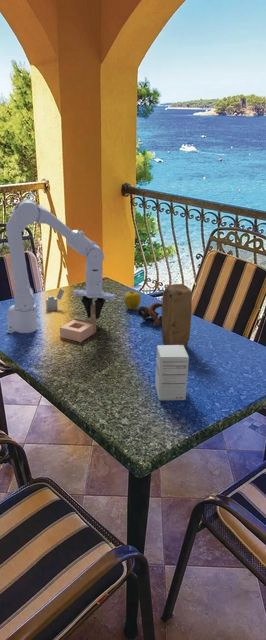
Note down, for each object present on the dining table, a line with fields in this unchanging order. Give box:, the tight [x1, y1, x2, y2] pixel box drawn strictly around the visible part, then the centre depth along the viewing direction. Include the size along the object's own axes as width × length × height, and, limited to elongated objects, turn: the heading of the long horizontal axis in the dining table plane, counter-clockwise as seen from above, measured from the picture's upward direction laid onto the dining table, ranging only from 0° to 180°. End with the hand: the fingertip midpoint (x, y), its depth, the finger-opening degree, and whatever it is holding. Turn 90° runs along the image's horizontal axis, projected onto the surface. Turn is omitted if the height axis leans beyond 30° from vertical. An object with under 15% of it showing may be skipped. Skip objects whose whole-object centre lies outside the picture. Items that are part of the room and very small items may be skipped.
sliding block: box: [59, 319, 95, 343], centre depth 152 cm, size 8×8×4 cm
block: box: [161, 283, 193, 348], centre depth 148 cm, size 11×8×20 cm
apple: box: [123, 289, 141, 311], centre depth 180 cm, size 6×6×8 cm
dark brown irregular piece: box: [136, 302, 162, 327], centre depth 168 cm, size 12×10×8 cm
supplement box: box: [154, 344, 190, 401], centre depth 119 cm, size 7×7×13 cm
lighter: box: [45, 288, 65, 311], centre depth 178 cm, size 7×2×8 cm, turn 113°
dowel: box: [89, 302, 98, 325], centre depth 161 cm, size 2×2×7 cm
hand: (93, 317), depth 161 cm, fingers closed on dowel, 2 cm apart
